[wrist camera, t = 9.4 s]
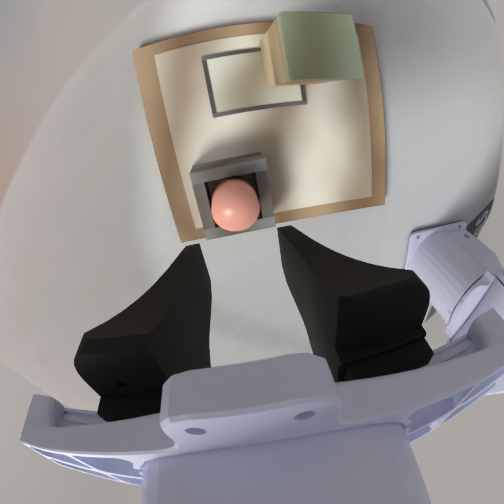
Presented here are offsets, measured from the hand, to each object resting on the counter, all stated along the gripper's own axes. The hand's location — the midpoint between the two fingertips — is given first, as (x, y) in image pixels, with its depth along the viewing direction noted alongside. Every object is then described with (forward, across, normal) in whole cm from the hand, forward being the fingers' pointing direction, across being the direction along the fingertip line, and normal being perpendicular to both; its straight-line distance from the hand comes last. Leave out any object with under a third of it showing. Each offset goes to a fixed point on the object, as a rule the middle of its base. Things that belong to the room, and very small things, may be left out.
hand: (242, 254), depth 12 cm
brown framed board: (+10, -4, -4) cm, 12 cm away
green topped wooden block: (+9, -6, -9) cm, 14 cm away
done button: (+8, 0, 0) cm, 8 cm away
